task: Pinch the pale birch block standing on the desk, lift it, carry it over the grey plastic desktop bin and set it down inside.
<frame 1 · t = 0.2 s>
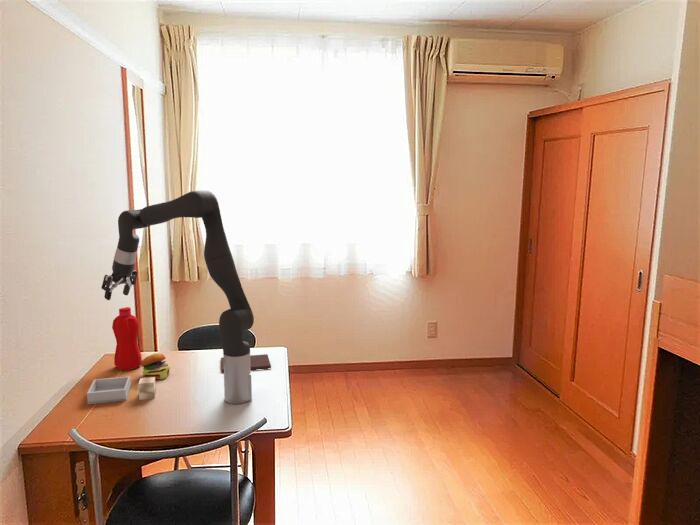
hand: (116, 296, 199), 31 cm above the table, fingers open, 8 cm apart
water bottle: (127, 366, 210), on the table
grey bin: (110, 395, 183), on the table
cheeseburger: (155, 376, 201), on the table
notebook: (245, 365, 215), on the table
birch block: (147, 396, 183), on the table
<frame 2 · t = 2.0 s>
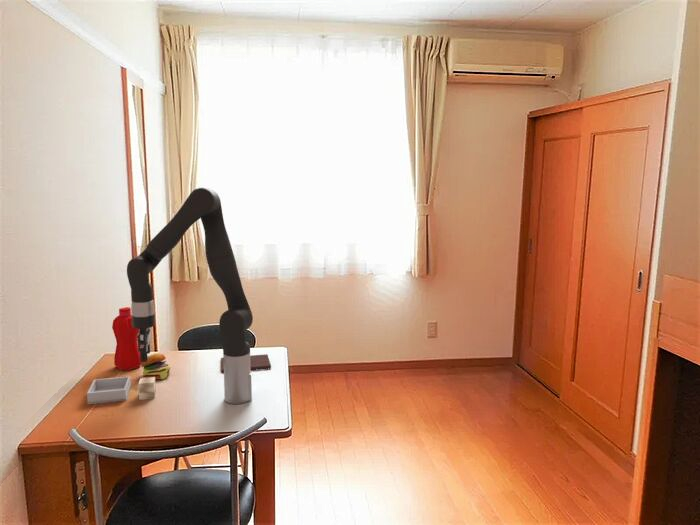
hand: (145, 357, 181), 14 cm above the table, fingers open, 8 cm apart
nothing on the table moved.
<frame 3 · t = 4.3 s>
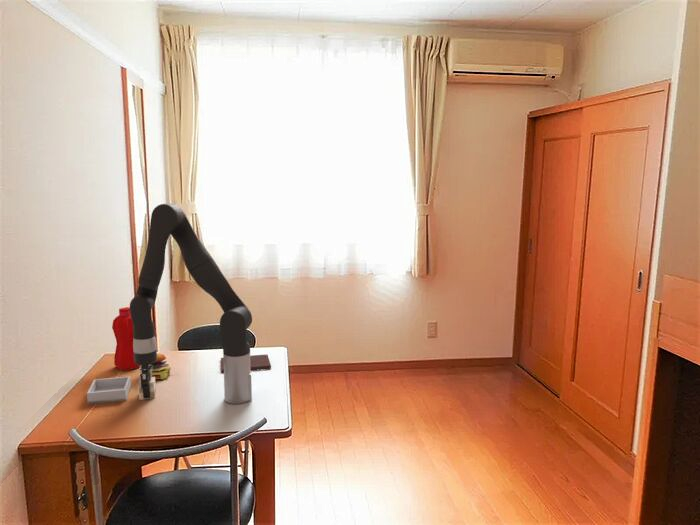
hand: (147, 394, 183), 1 cm above the table, fingers closed on birch block, 5 cm apart
birch block: (147, 396, 183), on the table, touching gripper
everything else where it was.
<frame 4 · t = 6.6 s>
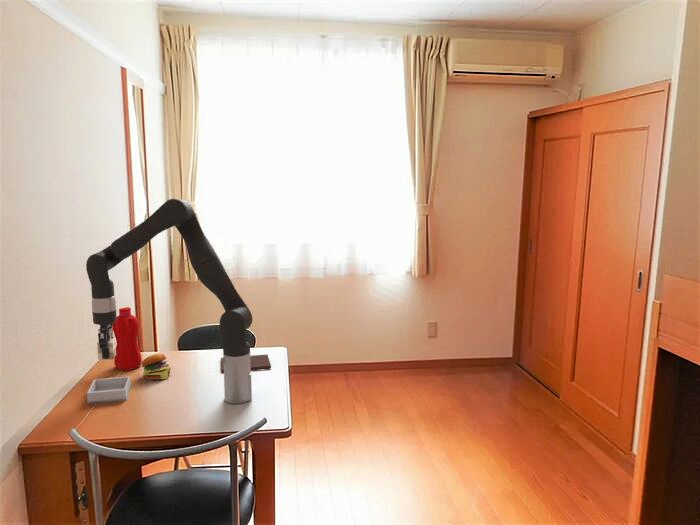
hand: (107, 355, 181), 15 cm above the table, fingers closed on birch block, 5 cm apart
birch block: (107, 357, 181), point 14 cm above the table, touching gripper
everything else where it was.
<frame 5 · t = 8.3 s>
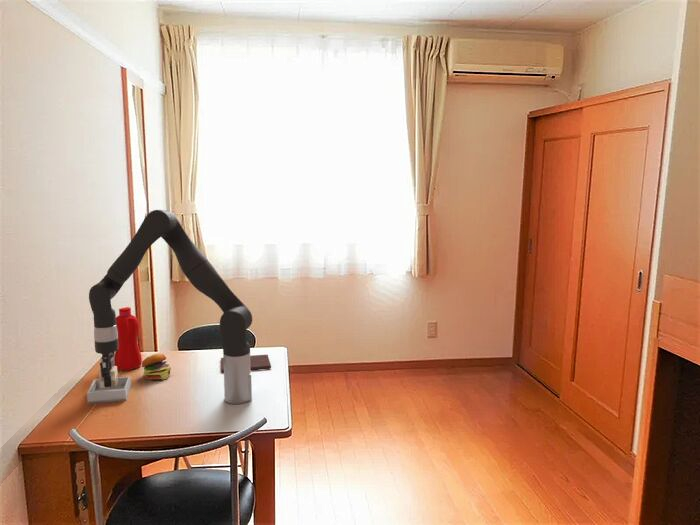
hand: (109, 383, 183), 4 cm above the table, fingers closed on birch block, 5 cm apart
birch block: (109, 384, 183), point 4 cm above the table, touching gripper
everything else where it was.
when the fingers open (4 cm above the table, at t = 9.4 s): birch block drops 2 cm, resting on grey bin.
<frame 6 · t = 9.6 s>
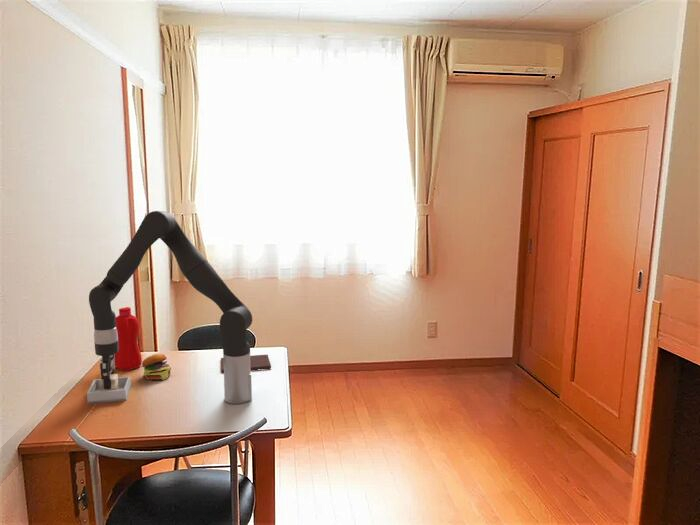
hand: (109, 384, 183), 4 cm above the table, fingers open, 6 cm apart
birch block: (110, 393, 183), point 1 cm above the table, touching grey bin
everything else where it was.
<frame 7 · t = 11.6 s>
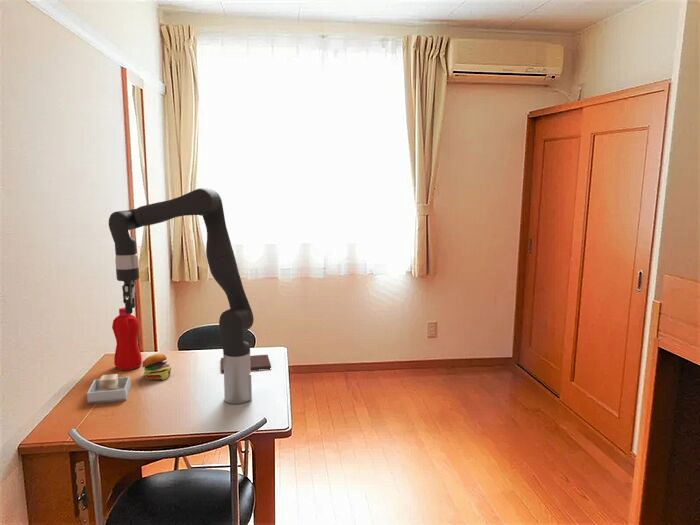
hand: (130, 310, 186), 29 cm above the table, fingers open, 8 cm apart
nothing on the table moved.
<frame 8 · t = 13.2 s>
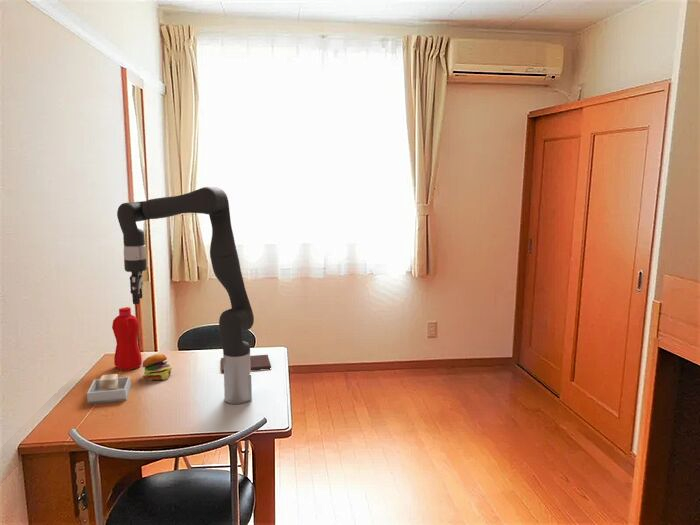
hand: (137, 301, 188), 32 cm above the table, fingers open, 8 cm apart
nothing on the table moved.
at the end: birch block inside the target area on the grey bin (0.1 cm from its centre), point 0.8 cm above the grey bin's base; the gripper is holding nothing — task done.
